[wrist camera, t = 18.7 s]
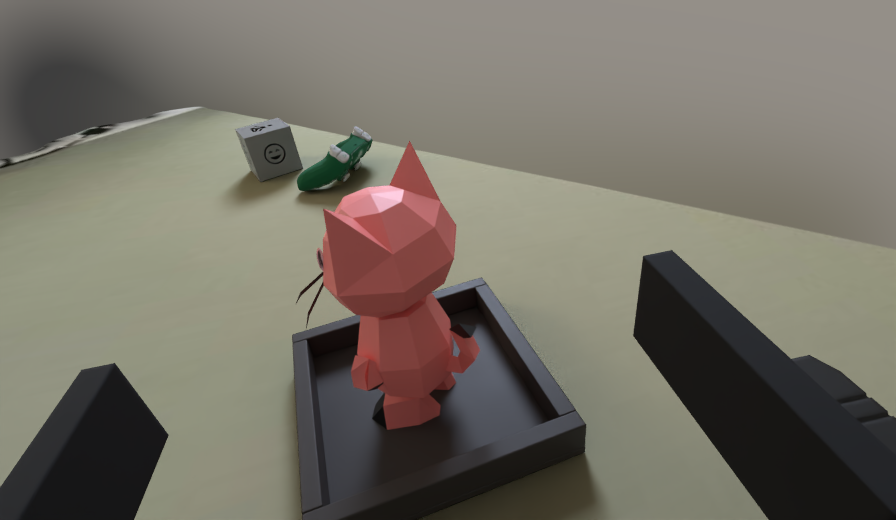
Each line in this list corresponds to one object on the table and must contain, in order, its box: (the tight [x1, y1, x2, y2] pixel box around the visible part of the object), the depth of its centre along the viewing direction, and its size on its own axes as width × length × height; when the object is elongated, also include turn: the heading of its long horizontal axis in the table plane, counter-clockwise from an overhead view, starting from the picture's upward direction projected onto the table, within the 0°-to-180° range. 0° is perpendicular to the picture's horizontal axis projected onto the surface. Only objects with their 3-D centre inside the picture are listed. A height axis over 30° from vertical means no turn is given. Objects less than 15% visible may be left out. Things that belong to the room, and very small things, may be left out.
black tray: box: [292, 278, 586, 520], centre depth 23 cm, size 12×12×2 cm
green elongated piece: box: [297, 126, 372, 191], centre depth 49 cm, size 9×4×6 cm
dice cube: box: [235, 118, 303, 182], centre depth 53 cm, size 5×5×5 cm
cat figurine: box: [296, 141, 480, 430], centre depth 20 cm, size 7×7×12 cm
